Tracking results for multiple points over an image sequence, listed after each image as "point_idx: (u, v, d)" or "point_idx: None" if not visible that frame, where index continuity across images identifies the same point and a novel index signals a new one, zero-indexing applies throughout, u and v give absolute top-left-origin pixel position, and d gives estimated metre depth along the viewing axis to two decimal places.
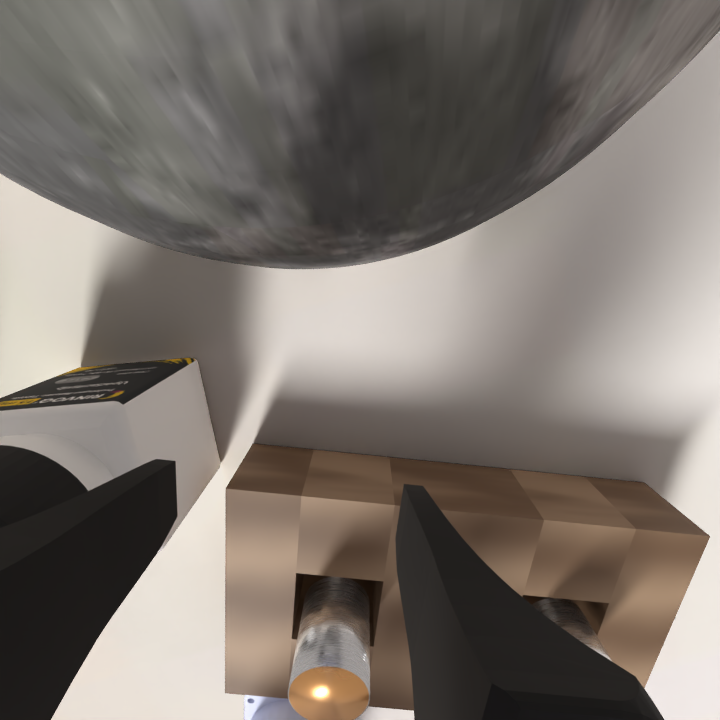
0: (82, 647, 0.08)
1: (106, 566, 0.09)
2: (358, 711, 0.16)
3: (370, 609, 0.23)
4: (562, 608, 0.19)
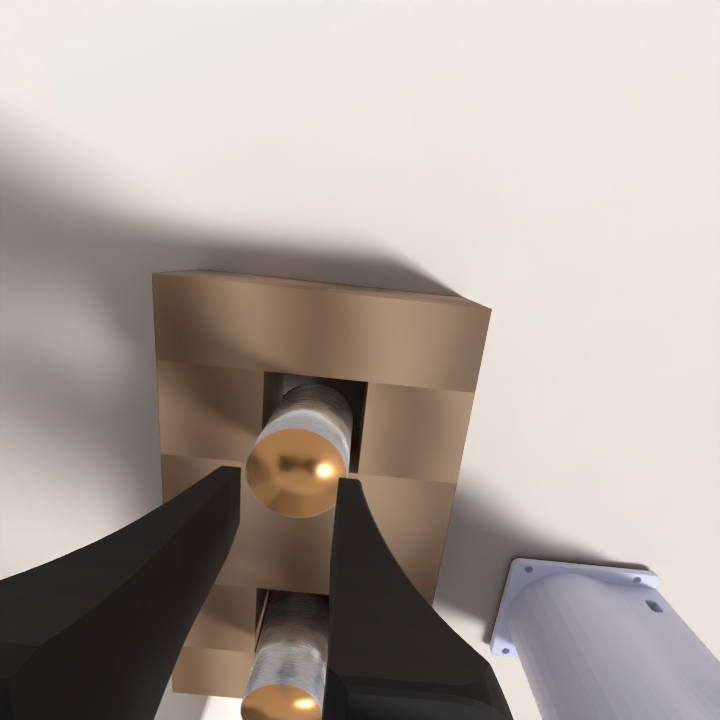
0: (172, 656, 0.08)
1: (191, 575, 0.09)
2: (299, 693, 0.16)
3: None
4: None
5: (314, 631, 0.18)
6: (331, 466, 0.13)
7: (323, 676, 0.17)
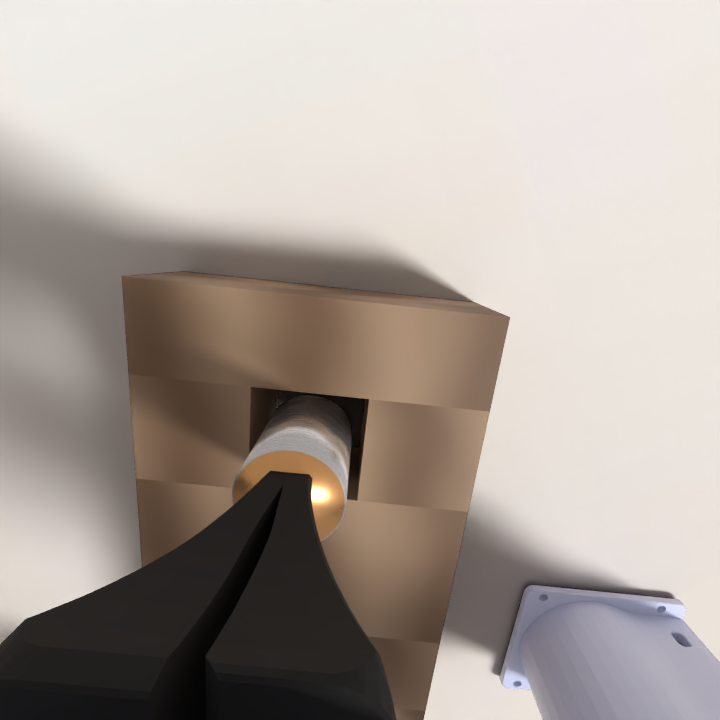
0: None
1: None
2: None
3: None
4: None
5: None
6: (327, 491, 0.11)
7: None
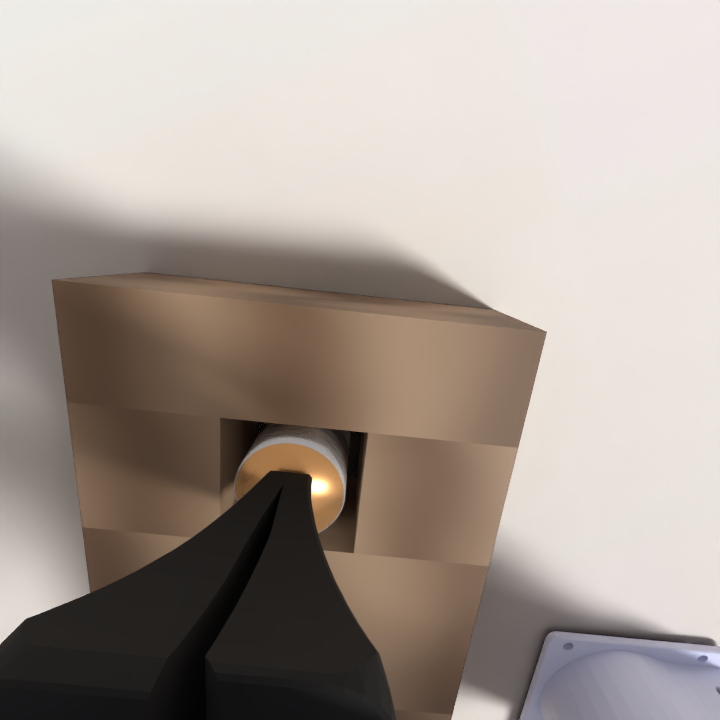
0: None
1: None
2: None
3: None
4: None
5: None
6: (327, 483, 0.12)
7: None
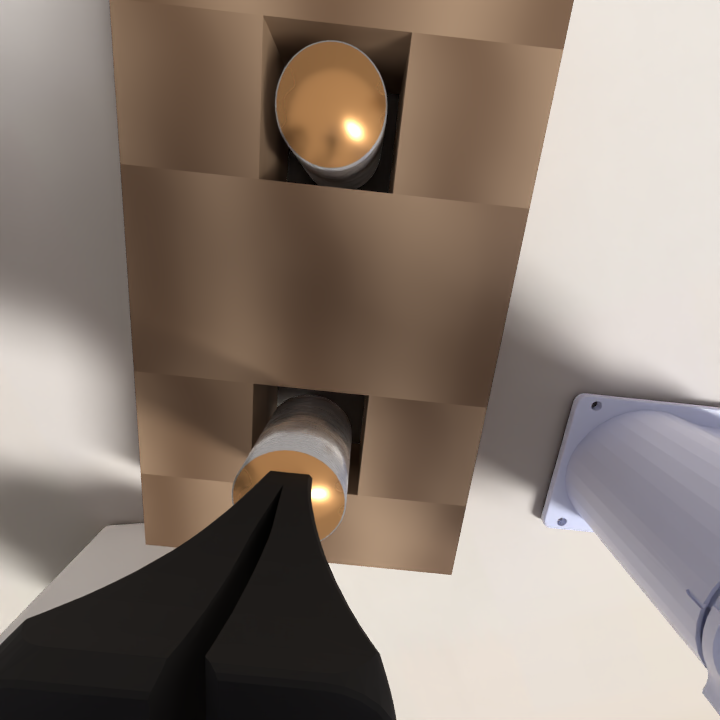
0: None
1: None
2: (315, 464, 0.11)
3: None
4: None
5: (332, 423, 0.14)
6: (369, 94, 0.12)
7: (346, 466, 0.13)
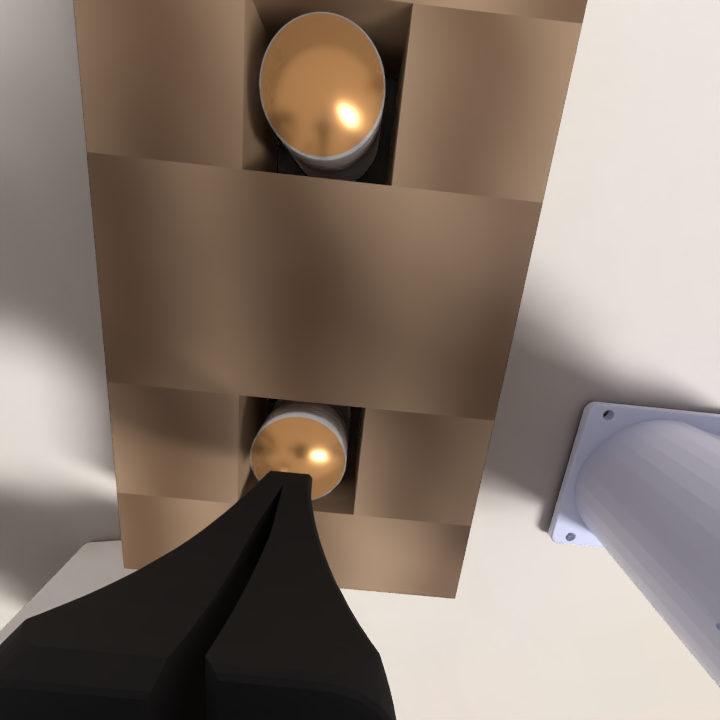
0: None
1: None
2: (320, 428, 0.13)
3: None
4: None
5: None
6: (365, 73, 0.10)
7: (345, 434, 0.15)
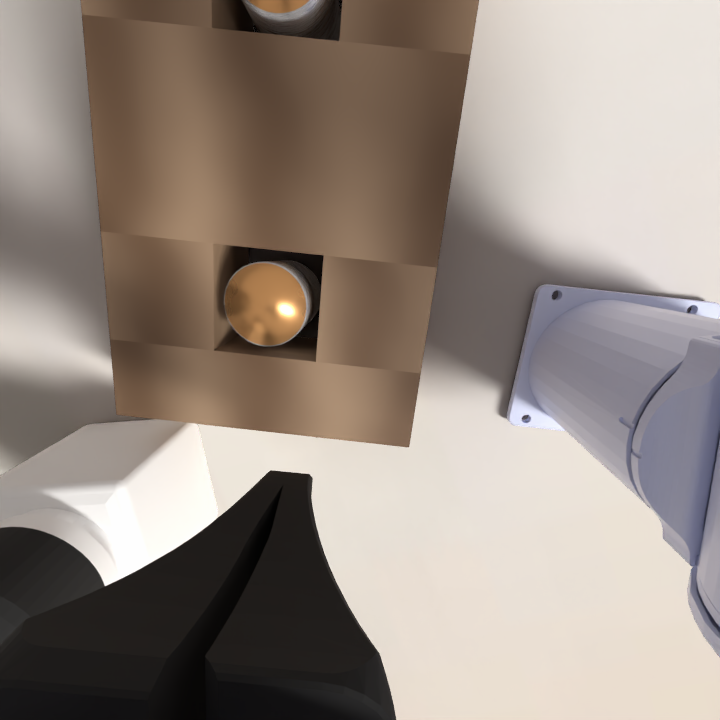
0: None
1: None
2: (284, 274, 0.15)
3: None
4: None
5: (302, 269, 0.18)
6: None
7: (310, 291, 0.17)
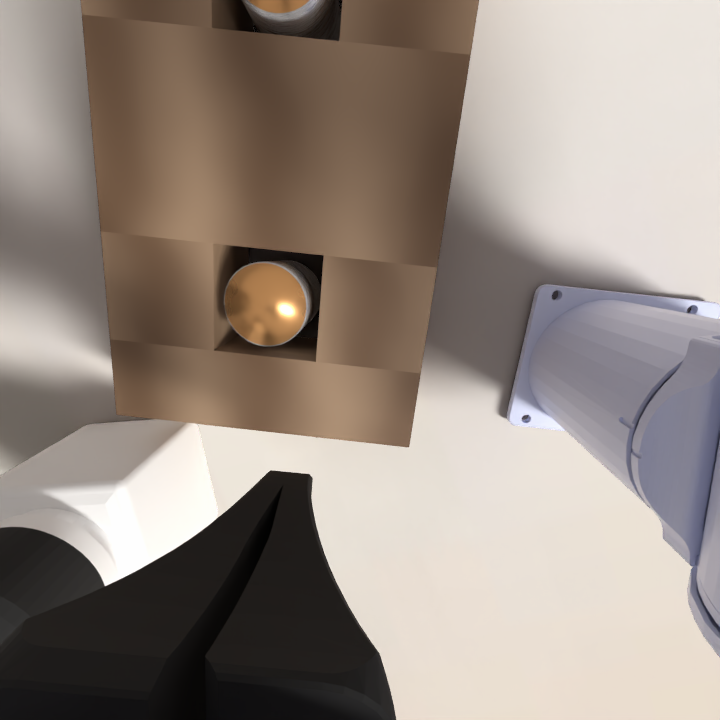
0: None
1: None
2: (284, 274, 0.15)
3: None
4: None
5: (302, 269, 0.18)
6: None
7: (310, 291, 0.17)
